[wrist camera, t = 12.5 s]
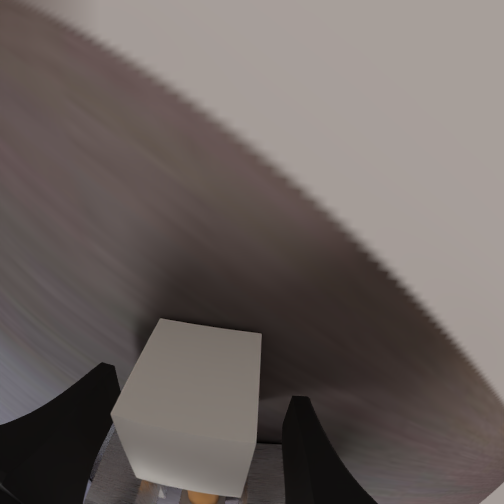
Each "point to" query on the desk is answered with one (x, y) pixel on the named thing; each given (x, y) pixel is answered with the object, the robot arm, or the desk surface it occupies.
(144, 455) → the plug
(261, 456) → the housing
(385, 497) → the desk surface
